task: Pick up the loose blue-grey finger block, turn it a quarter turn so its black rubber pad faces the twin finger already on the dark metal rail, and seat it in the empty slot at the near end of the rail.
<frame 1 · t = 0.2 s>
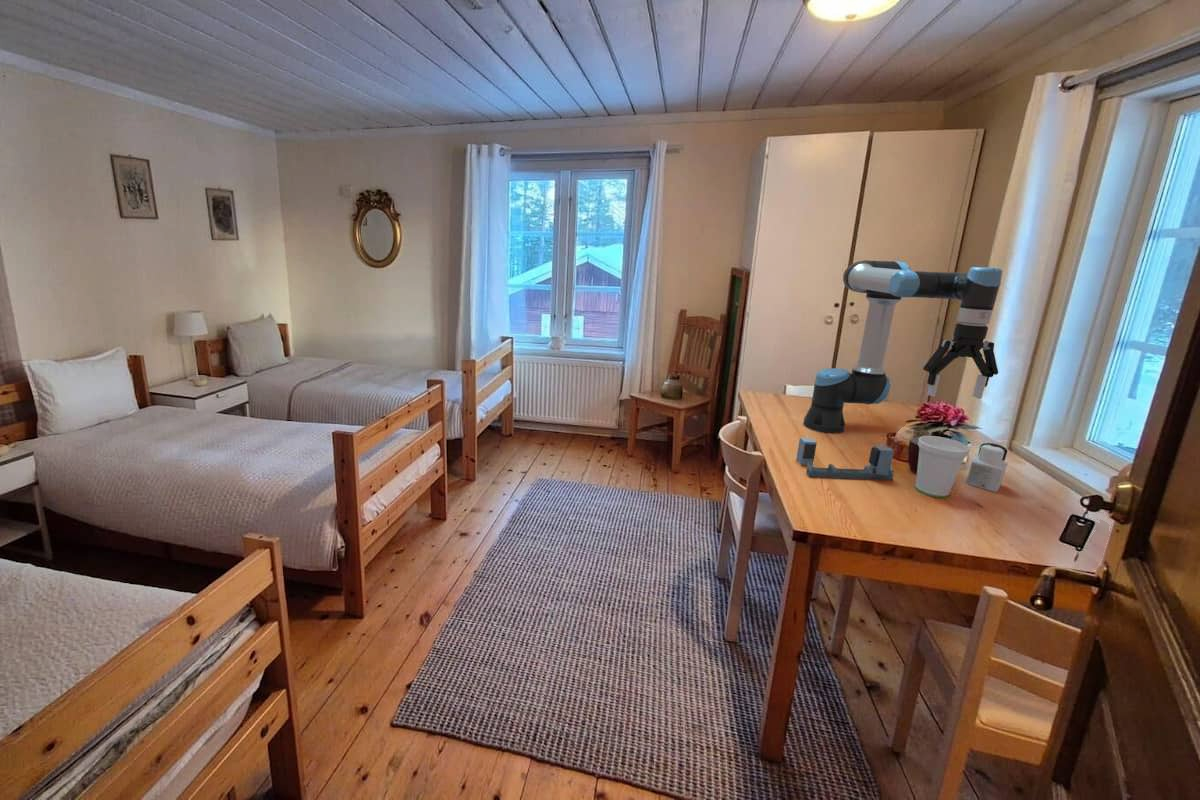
hand: (953, 396, 147), 28 cm above the table, fingers open, 13 cm apart
container: (983, 485, 156), on the table
rail: (848, 476, 157), on the table
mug: (918, 473, 162), on the table
finger right: (804, 462, 167), on the table
cup: (931, 491, 150), on the table
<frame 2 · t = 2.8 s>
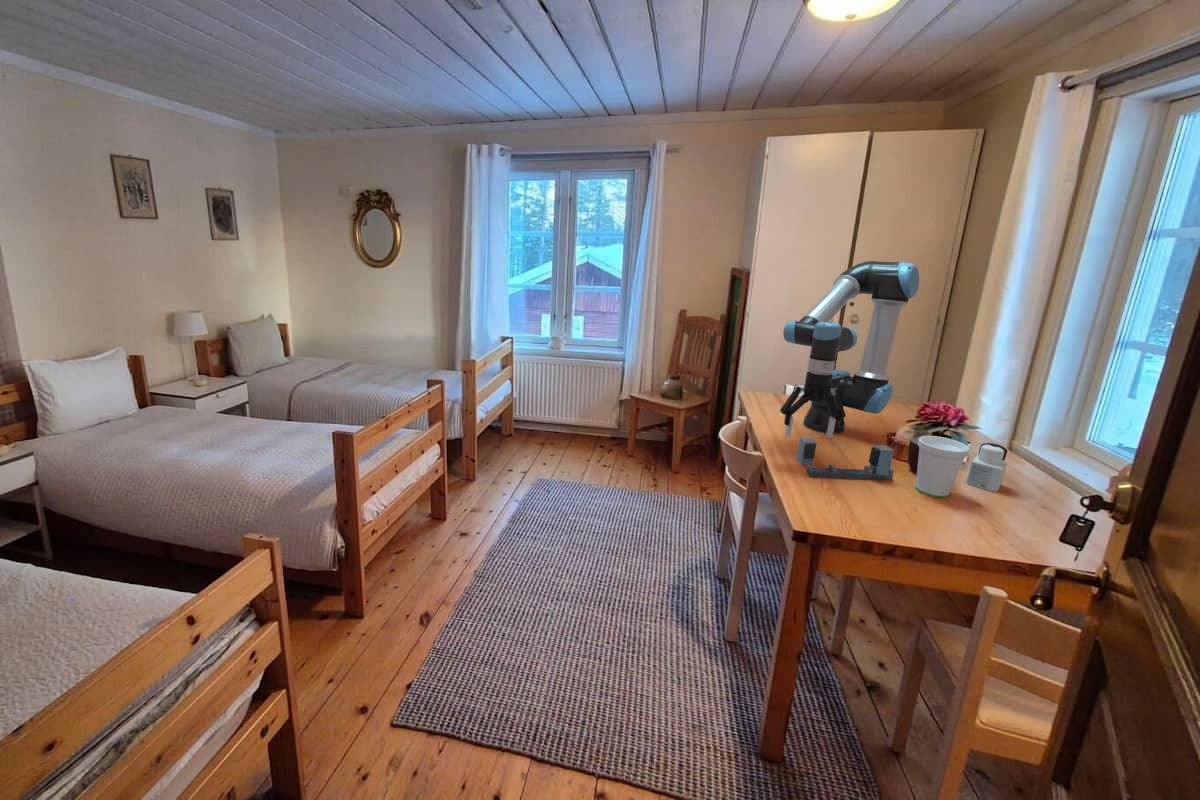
hand: (808, 436, 164), 9 cm above the table, fingers open, 13 cm apart
nothing on the table moved.
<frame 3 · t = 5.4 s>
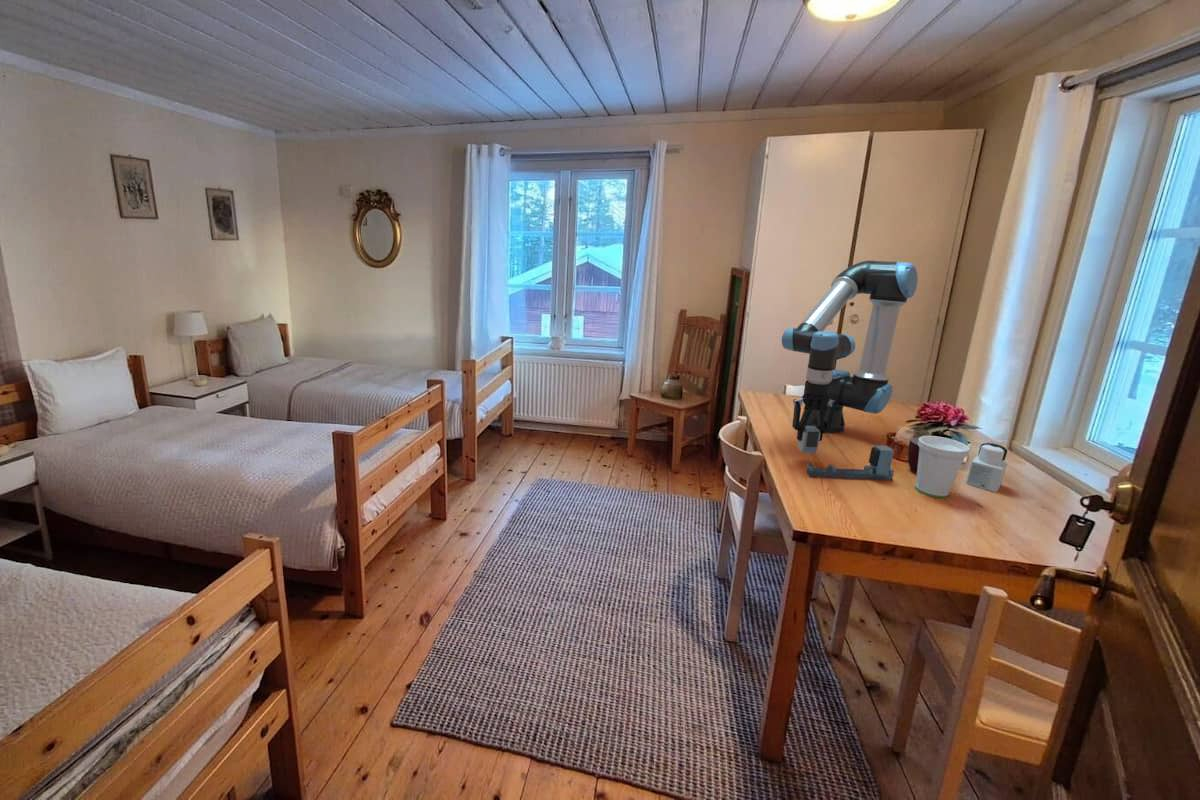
hand: (807, 449, 166), 4 cm above the table, fingers closed on finger right, 4 cm apart
finger right: (807, 450, 166), point 4 cm above the table, touching gripper
everything else where it was.
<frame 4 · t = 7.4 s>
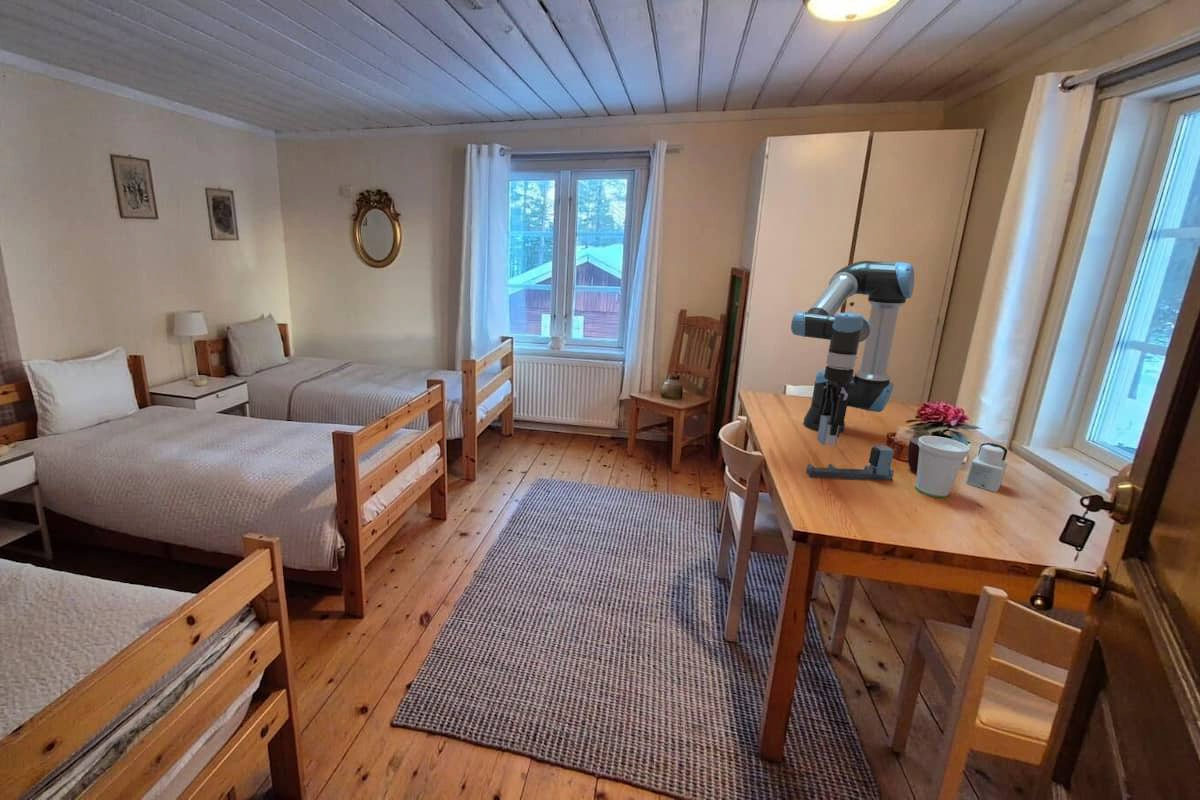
hand: (826, 441, 154), 11 cm above the table, fingers closed on finger right, 4 cm apart
finger right: (826, 442, 154), point 11 cm above the table, touching gripper
everything else where it was.
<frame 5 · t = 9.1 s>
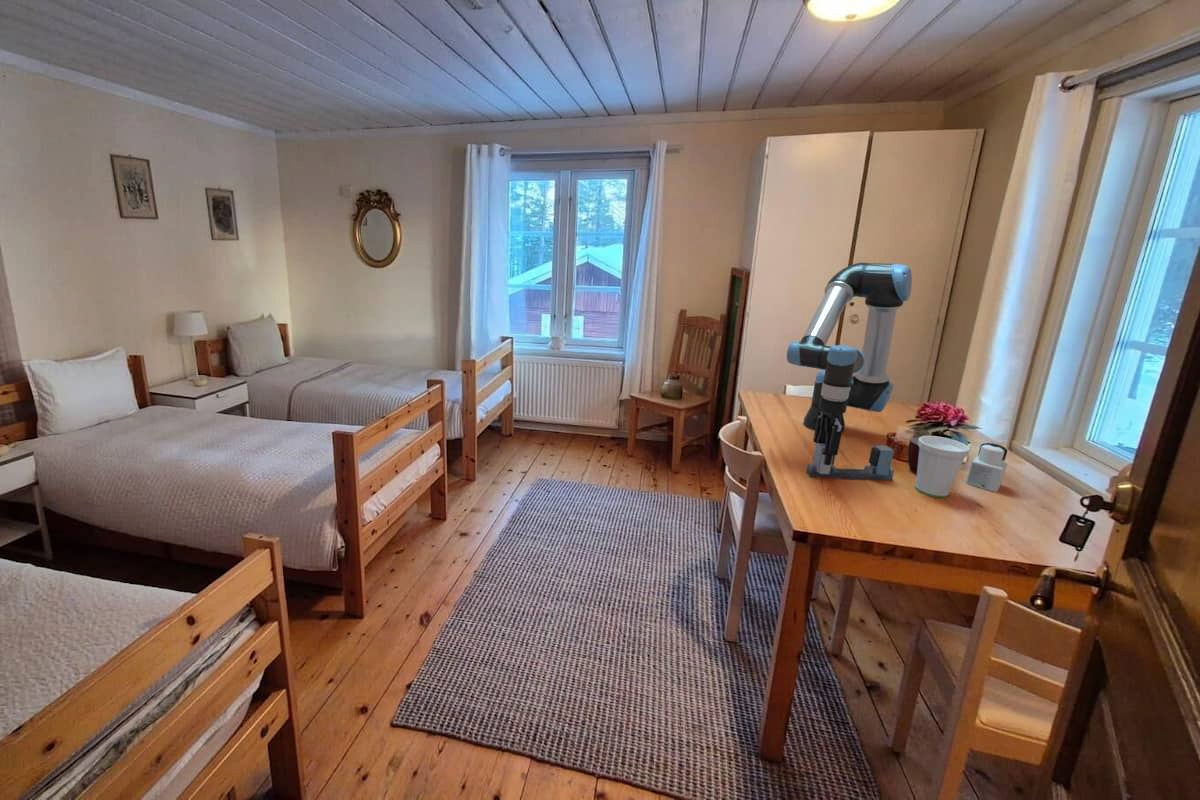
hand: (820, 469, 156), 2 cm above the table, fingers closed on finger right, 4 cm apart
finger right: (821, 469, 156), point 2 cm above the table, touching gripper, rail
everything else where it was.
when the fingers open (2 cm above the table, at t = 9.6 s): finger right stays where it is, resting on rail.
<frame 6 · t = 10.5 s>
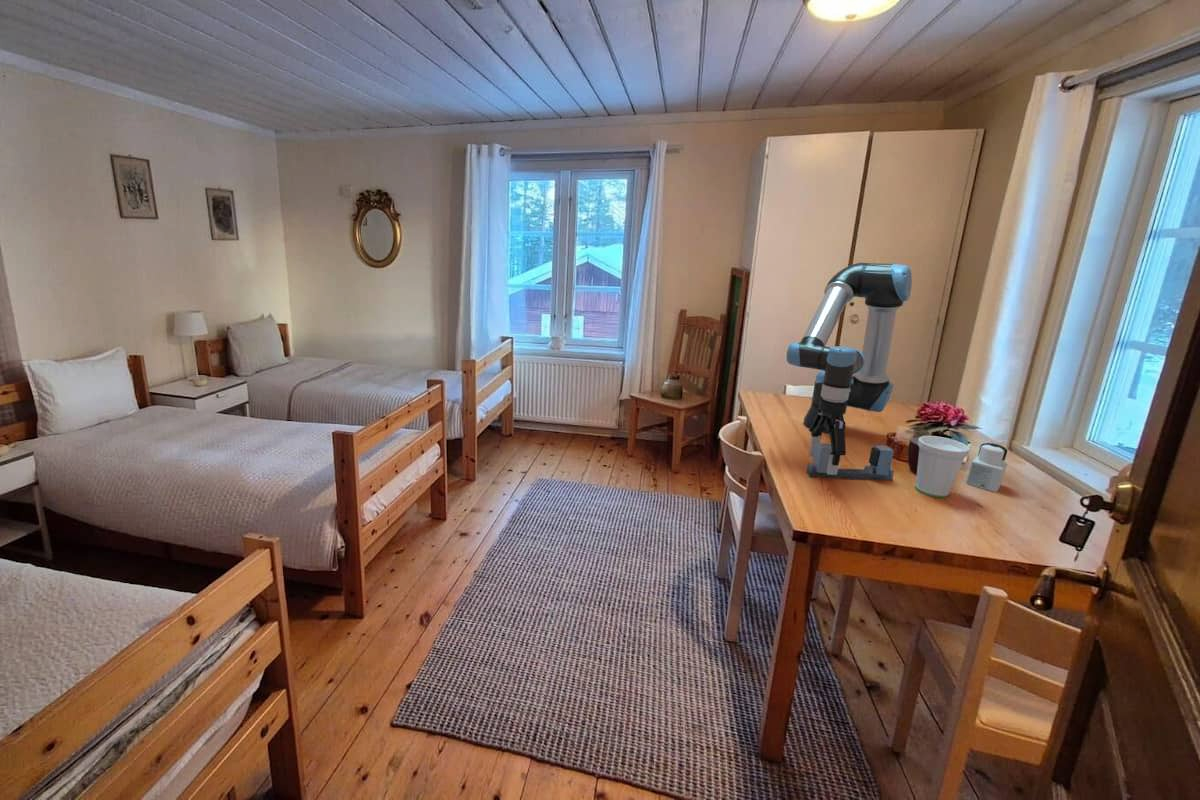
hand: (822, 464, 156), 4 cm above the table, fingers open, 13 cm apart
finger right: (821, 469, 156), point 2 cm above the table, touching rail
everything else where it was.
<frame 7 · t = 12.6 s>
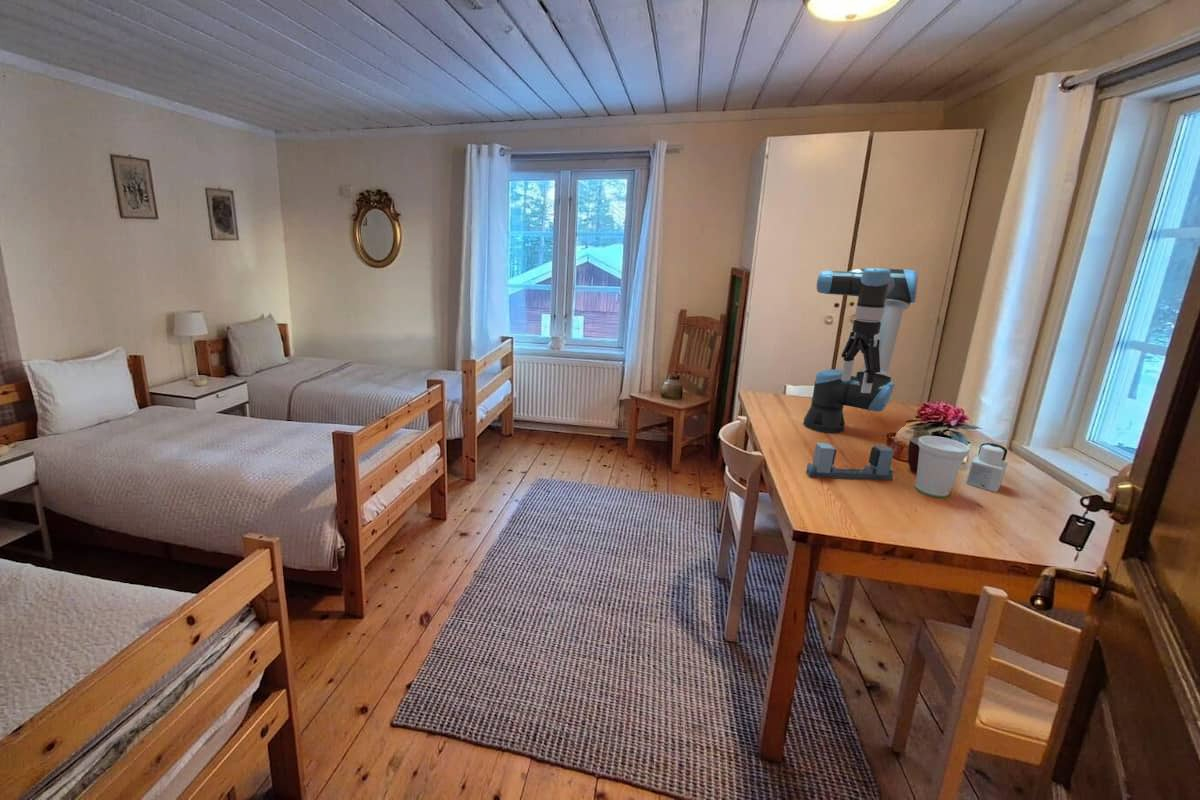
hand: (855, 386, 161), 26 cm above the table, fingers open, 13 cm apart
nothing on the table moved.
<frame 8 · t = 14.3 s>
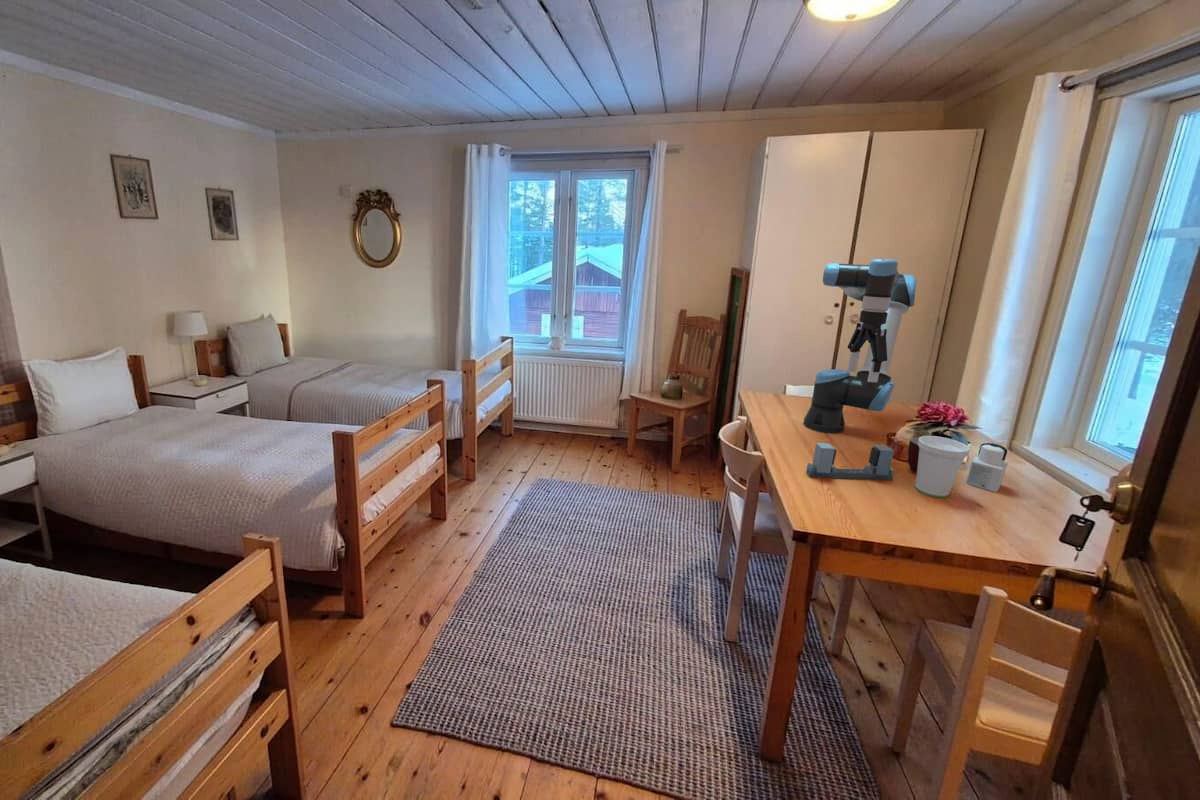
hand: (861, 376, 163), 29 cm above the table, fingers open, 13 cm apart
nothing on the table moved.
at the end: finger right 0.1 cm from the target spot, point 2.0 cm above the table; finger right tilted 0°; the gripper is holding nothing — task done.
